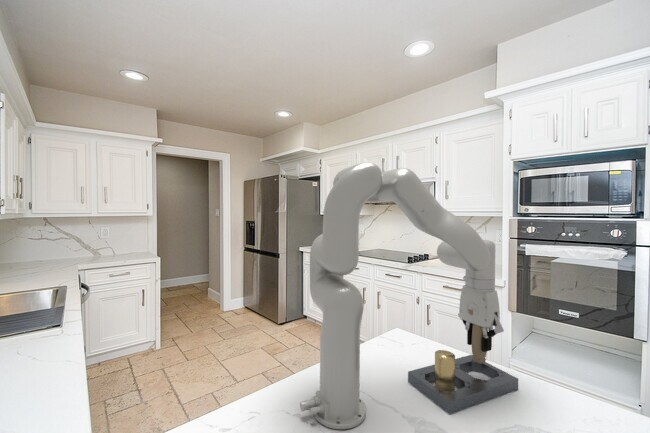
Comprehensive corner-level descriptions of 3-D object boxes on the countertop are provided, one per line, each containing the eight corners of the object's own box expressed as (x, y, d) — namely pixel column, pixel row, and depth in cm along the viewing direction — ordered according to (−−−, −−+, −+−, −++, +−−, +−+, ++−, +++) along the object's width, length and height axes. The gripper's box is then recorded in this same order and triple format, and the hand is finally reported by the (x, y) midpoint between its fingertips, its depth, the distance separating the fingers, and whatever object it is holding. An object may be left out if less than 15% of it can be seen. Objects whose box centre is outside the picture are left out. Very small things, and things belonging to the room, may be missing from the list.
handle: (493, 367, 83) (494, 312, 83) (468, 364, 85) (469, 310, 85) (489, 358, 88) (489, 307, 88) (465, 356, 90) (465, 305, 89)
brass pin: (444, 398, 78) (445, 360, 78) (430, 388, 83) (430, 352, 82) (458, 394, 80) (459, 356, 80) (444, 384, 85) (444, 348, 84)
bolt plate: (449, 414, 72) (449, 402, 72) (408, 381, 86) (408, 371, 86) (518, 389, 82) (518, 378, 82) (471, 364, 96) (471, 354, 96)
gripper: (447, 278, 92) (446, 338, 93) (498, 292, 77) (497, 363, 77) (464, 276, 95) (464, 334, 96) (517, 289, 80) (516, 357, 80)
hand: (479, 346), depth 86 cm, fingers closed on handle, 4 cm apart
